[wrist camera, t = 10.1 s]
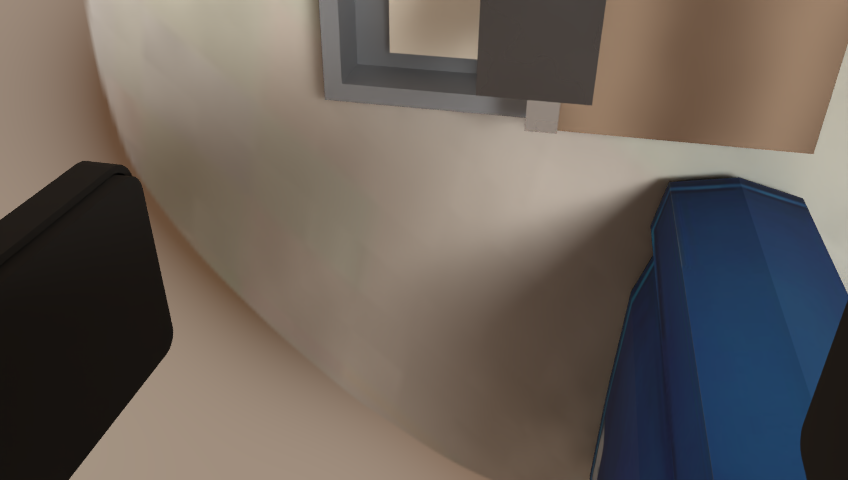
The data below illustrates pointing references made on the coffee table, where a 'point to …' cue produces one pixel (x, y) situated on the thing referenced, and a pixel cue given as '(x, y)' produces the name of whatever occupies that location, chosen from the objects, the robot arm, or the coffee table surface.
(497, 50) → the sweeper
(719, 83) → the brown tray
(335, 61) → the box
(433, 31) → the tile cream
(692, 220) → the book
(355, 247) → the coffee table surface
